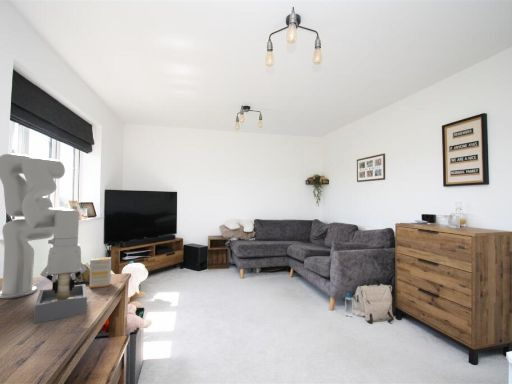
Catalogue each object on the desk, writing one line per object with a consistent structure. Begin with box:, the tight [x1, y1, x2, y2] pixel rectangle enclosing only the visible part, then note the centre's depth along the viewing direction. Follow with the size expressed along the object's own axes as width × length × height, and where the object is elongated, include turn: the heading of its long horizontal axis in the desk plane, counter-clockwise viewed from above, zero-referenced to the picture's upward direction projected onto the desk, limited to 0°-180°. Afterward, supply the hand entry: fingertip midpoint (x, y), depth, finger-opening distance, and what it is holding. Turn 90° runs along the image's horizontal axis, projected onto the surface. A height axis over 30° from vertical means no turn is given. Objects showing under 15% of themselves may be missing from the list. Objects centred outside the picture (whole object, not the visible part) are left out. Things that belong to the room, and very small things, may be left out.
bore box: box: [33, 283, 88, 324], centre depth 96 cm, size 16×14×6 cm
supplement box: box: [88, 256, 112, 289], centre depth 122 cm, size 8×5×13 cm, turn 110°
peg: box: [56, 273, 71, 300], centre depth 96 cm, size 4×4×10 cm
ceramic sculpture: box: [71, 262, 90, 283], centre depth 127 cm, size 11×9×15 cm
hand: (63, 290), depth 96 cm, fingers closed on peg, 4 cm apart
